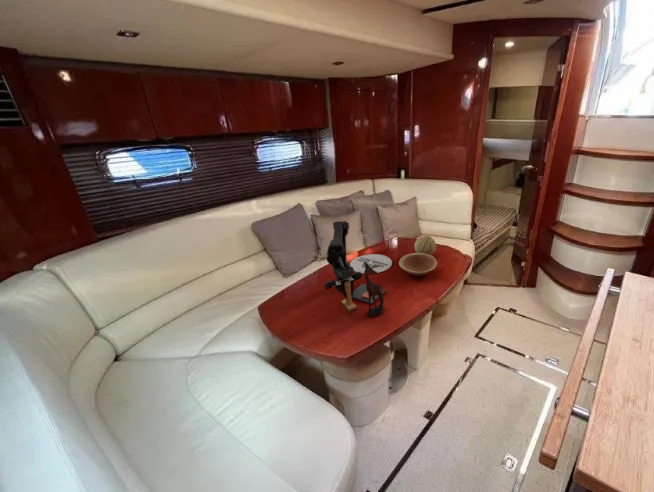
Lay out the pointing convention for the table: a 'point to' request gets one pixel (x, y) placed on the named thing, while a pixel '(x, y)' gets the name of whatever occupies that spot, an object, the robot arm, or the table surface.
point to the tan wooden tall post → (348, 299)
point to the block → (365, 295)
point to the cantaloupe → (425, 245)
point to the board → (360, 291)
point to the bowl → (418, 263)
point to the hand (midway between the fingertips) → (349, 296)
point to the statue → (373, 292)
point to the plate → (371, 263)
